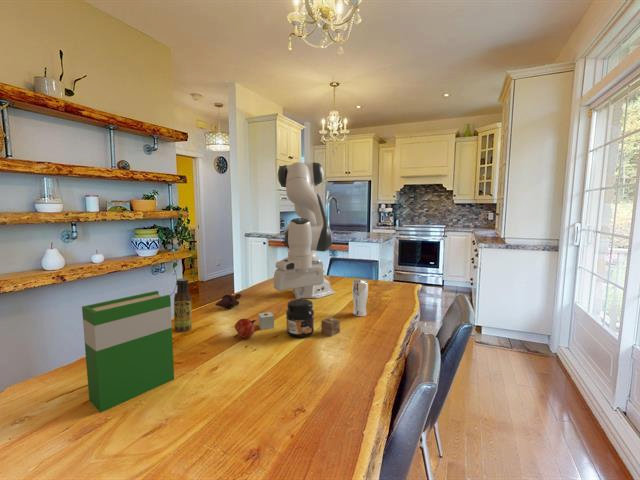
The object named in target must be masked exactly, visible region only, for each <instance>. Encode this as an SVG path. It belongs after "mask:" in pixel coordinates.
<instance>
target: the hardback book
mask: <svg viewBox="0 0 640 480" xmlns="http://www.w3.org/2000/svg"><path fill="white" fill-rule="evenodd" d="M81 313H82V324H83V325H82V327H83V338H84V339H83V340H84V350H85V363H86V375H87V389H88V390H87V391H88V399H89V402H90V403H91V404H92V405H93V406H94V407H95V409H97V410H98V411H99V412H100V413H104V412H105V411H108V410H111V409H112V408H114V407H116V406H118V405H121V404H123V403H125V402H128V401H130V400H131V399H134V398H137V397H138V396H141V395H143V394H145V393H147V392H150V391H151V390H153V389H154V390H155V389H156V388H159V387H161V386H163V385H166V384H168V383H169V382H172V381H174V380H175V369H174V368H175V366H174V346H173V343H174V342H173V325H172V324H173V323H172V302H171V295H170V294H166V295H163V296H162V295H160V294H159V290H155V291H149V292H145V293H144V292H143V293H140V294H136V295H130V296H126V297H122V298H116V299H112V300H107V301H102V302H97V303H92V304H88V305H83V306H81Z"/></svg>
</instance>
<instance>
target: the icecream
mask: <svg viewBox="0 0 640 480" xmlns="http://www.w3.org/2000/svg"><path fill="white" fill-rule="evenodd" d="M241 297H242V294H241V293H238V294H235V295H233V294H224V295H223V296H222V297H221V300H219V301H217V302H216V303H215V304H214V306H216V307H222V308H224V309H225V310H231V309H232V308H233V309H234V308H235V306H238V305H239V304H240V302H239V301H238V300H239V299H240V298H241Z"/></svg>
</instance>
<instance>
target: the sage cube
mask: <svg viewBox="0 0 640 480" xmlns="http://www.w3.org/2000/svg"><path fill="white" fill-rule="evenodd" d="M257 316H258V327H259V329H260V330H261V331H263V330H269V329H274V328H275V316H274V314H273V313H272V312H271V311H267V312H262V313H261V312H260V313H258V315H257Z"/></svg>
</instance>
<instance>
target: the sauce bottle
mask: <svg viewBox="0 0 640 480" xmlns="http://www.w3.org/2000/svg"><path fill="white" fill-rule="evenodd" d="M188 284H189V279H188V278H177V279H176V286H177V287H176V288H177V289H176V292H175V295H174V297H173V326H174V327H173V328H174V331H176V332H178V333H180V332H181V333H182V332H183V333H184V332H187V331H189V330H191V329H192V295H191V294H190V292H189V288H188V287H189V285H188Z"/></svg>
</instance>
